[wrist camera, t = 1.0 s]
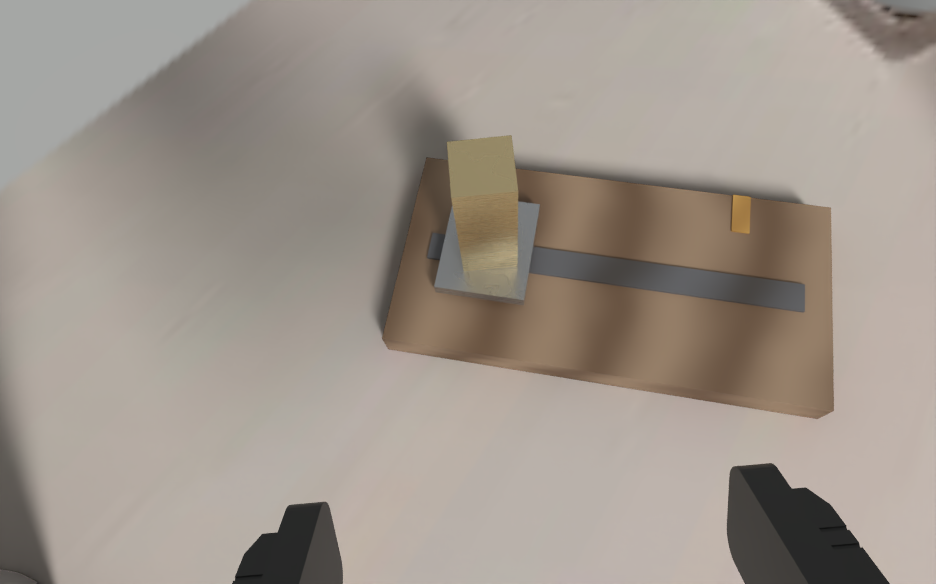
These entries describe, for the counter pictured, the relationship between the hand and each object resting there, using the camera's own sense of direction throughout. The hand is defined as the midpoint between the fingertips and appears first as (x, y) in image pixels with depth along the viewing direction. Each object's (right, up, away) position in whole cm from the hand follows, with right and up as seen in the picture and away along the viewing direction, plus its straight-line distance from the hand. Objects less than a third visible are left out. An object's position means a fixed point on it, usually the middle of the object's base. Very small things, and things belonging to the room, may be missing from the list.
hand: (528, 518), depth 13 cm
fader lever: (0, +7, +25) cm, 26 cm away
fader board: (+7, +5, +27) cm, 28 cm away
